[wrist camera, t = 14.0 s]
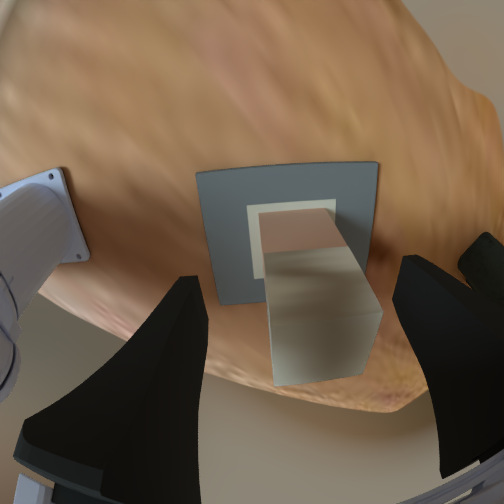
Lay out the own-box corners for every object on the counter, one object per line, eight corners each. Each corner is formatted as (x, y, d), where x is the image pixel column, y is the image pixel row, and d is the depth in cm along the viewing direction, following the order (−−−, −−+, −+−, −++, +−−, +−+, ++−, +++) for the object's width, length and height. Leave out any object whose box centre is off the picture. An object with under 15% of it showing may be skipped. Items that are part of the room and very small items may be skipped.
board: (220, 302, 23) (220, 306, 23) (196, 172, 18) (195, 174, 17) (360, 288, 23) (362, 291, 23) (375, 161, 17) (378, 163, 17)
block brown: (263, 268, 21) (267, 316, 17) (258, 213, 19) (262, 253, 15) (322, 262, 21) (340, 308, 17) (324, 207, 19) (347, 245, 14)
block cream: (267, 315, 17) (273, 386, 13) (263, 253, 15) (271, 325, 10) (339, 308, 17) (362, 374, 13) (348, 246, 14) (383, 311, 10)
